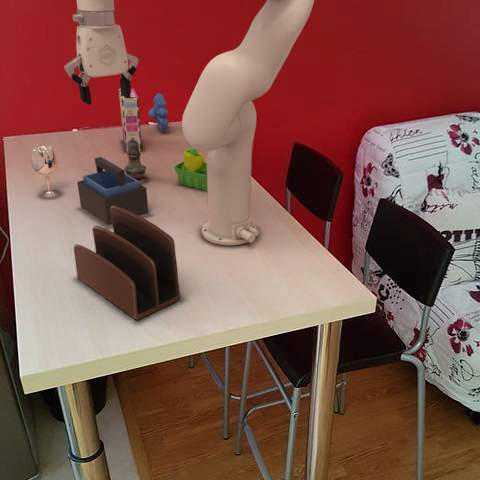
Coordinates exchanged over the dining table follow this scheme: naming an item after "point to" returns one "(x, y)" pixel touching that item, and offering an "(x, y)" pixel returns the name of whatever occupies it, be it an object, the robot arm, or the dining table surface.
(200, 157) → the fruit basket
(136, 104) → the candy bar box
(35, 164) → the wineglass
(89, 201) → the black tote
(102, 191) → the blue tote
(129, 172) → the grey chess piece
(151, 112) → the grapes
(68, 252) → the dining table surface
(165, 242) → the letter holder
